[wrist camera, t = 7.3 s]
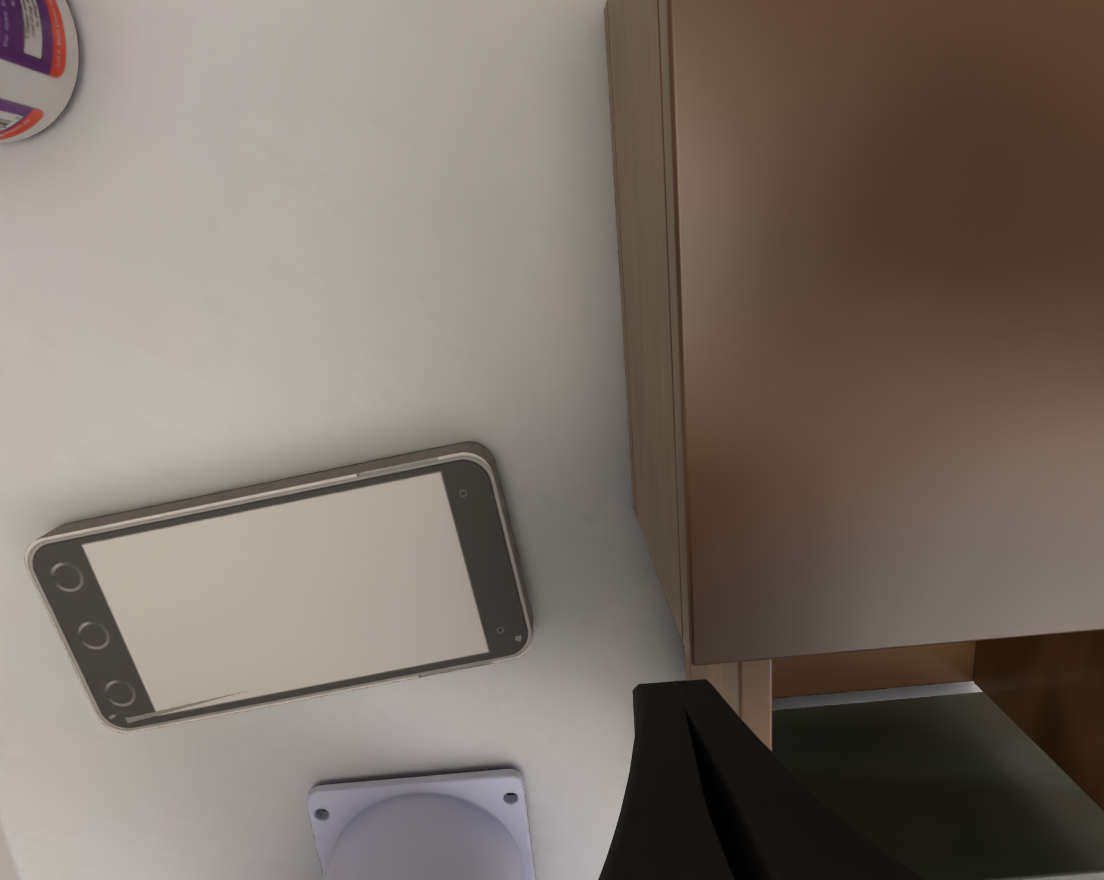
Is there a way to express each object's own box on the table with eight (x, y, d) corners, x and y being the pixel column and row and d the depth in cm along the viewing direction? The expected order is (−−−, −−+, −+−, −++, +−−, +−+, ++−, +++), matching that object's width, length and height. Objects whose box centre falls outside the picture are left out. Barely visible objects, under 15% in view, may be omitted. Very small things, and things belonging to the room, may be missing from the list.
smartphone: (14, 543, 20) (486, 446, 20) (40, 529, 21) (489, 437, 21) (106, 737, 22) (537, 655, 22) (125, 716, 23) (537, 636, 23)
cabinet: (1013, 475, 22) (1305, 613, 13) (633, 509, 22) (690, 668, 14) (1071, -36, 18) (1538, -290, 9) (603, 8, 18) (660, -204, 9)
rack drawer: (975, 830, 25) (1132, 1040, 18) (672, 857, 25) (720, 1074, 18) (1031, 337, 20) (1278, 381, 13) (648, 372, 20) (703, 433, 13)
